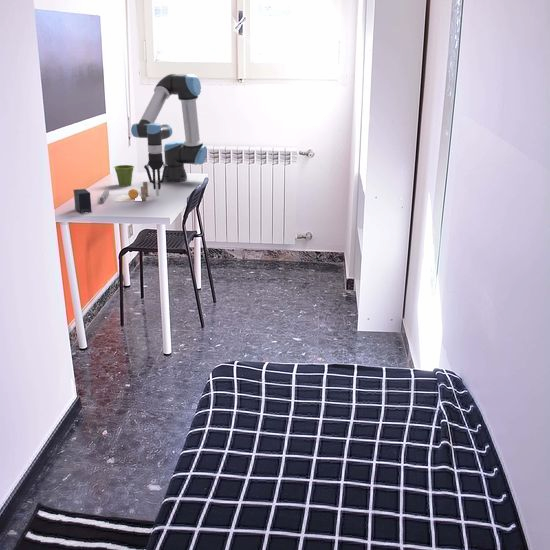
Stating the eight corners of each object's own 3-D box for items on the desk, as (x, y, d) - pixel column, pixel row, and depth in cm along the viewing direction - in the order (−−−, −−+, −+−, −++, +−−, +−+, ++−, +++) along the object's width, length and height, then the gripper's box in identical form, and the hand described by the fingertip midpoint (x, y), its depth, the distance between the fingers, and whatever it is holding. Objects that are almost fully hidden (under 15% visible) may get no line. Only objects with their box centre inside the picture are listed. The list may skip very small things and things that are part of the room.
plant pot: (137, 186, 399) (135, 167, 395) (117, 187, 395) (115, 169, 391) (133, 182, 409) (132, 164, 405) (113, 183, 405) (112, 165, 401)
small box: (92, 212, 342) (90, 192, 338) (79, 213, 339) (77, 193, 335) (87, 207, 351) (85, 188, 347) (74, 209, 348) (72, 189, 344)
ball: (127, 194, 372) (132, 186, 370) (136, 199, 373) (140, 191, 371) (125, 196, 366) (130, 188, 365) (134, 201, 368) (139, 193, 366)
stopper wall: (105, 194, 378) (105, 189, 377) (109, 194, 378) (108, 189, 377) (100, 203, 359) (99, 197, 358) (103, 203, 359) (103, 197, 358)
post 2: (141, 200, 366) (140, 186, 363) (146, 200, 366) (145, 186, 363) (141, 201, 364) (140, 187, 361) (145, 201, 364) (145, 187, 361)
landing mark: (119, 195, 376) (119, 195, 376) (144, 195, 377) (144, 195, 377) (115, 201, 363) (115, 201, 363) (141, 201, 364) (141, 201, 364)
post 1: (144, 195, 377) (143, 181, 375) (148, 195, 378) (147, 181, 375) (143, 196, 375) (142, 182, 372) (147, 196, 375) (147, 182, 373)
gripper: (142, 153, 358) (144, 196, 366) (166, 153, 359) (168, 196, 368) (143, 151, 365) (146, 193, 373) (167, 151, 366) (169, 193, 375)
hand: (157, 195), depth 370 cm, fingers closed
